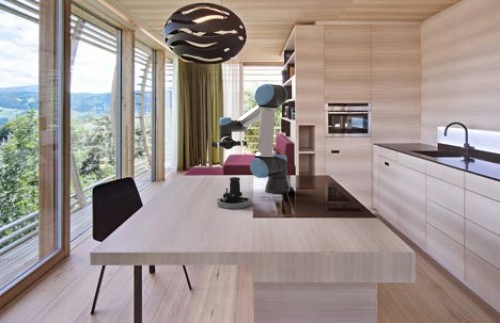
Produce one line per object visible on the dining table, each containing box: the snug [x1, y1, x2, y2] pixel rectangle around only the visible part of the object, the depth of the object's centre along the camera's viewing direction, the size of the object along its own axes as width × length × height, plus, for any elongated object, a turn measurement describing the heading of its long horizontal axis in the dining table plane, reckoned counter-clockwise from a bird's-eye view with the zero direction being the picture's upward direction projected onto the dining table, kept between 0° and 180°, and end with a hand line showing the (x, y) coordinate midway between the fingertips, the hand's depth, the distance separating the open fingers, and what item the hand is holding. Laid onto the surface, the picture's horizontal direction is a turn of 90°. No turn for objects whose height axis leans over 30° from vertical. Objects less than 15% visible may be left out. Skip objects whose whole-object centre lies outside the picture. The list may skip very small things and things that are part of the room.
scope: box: [222, 176, 243, 203], centre depth 209 cm, size 8×14×10 cm
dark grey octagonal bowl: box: [216, 196, 253, 210], centre depth 210 cm, size 18×18×2 cm
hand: (230, 144), depth 221 cm, fingers open, 13 cm apart
